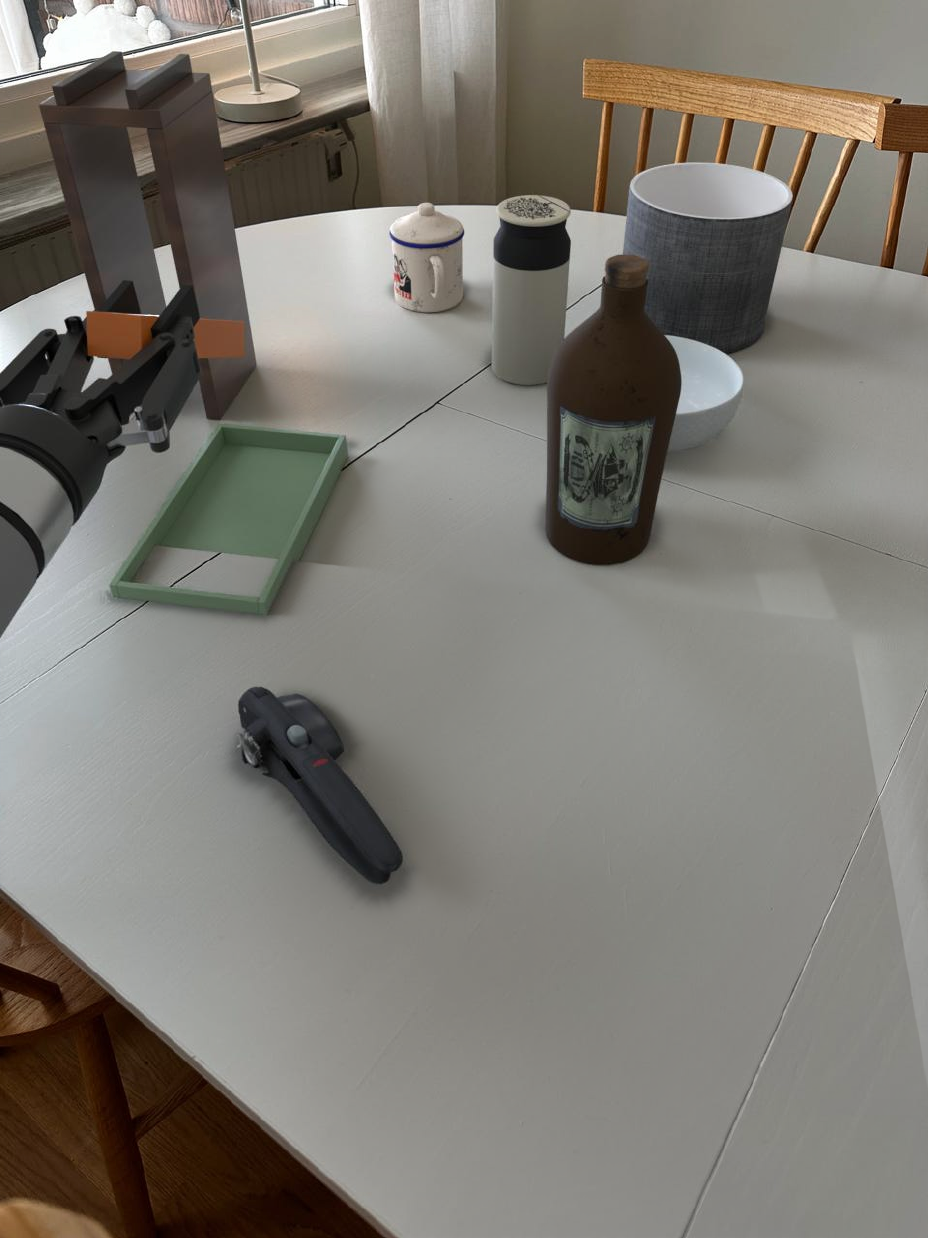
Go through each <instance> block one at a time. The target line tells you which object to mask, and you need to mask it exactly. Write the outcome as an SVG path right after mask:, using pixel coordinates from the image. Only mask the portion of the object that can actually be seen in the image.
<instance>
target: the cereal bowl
mask: <svg viewBox="0 0 928 1238" xmlns="http://www.w3.org/2000/svg"><path fill="white" fill-rule="evenodd" d="M665 336H666V338H667V339H668V340H669V341H670V343H671V344H672V346H673V348H674V349H675V351H676V354H677V356H678V360H679V364H680V370H681V379H682V385H681V394H680V399H679V403H678V407H677V412H676V416H675V420H674V425H673V429H672V433H671V438H670V442H669V447H668V451H667V453H671V452H677V451H685V450H689V449H692V448H694V447H698V446H700V445H702V444H704V443H707V442H709V441H710V440H711V439H713V438H715V437H716V436H718V435H719V434H720V433H721V432H723V431H724V430H725V428H727V427H728V426H729V424H730V423H731V422H732V420H733V418H734V417H735V415H736V412H737V411H738V408H739V405H740V403H741V398H742V396H743V391H744V387H745V376H744V373H743V371H742V369H741V367H740V365H738V363H737V362H736V361H735V360H734V359H733V358H731V356H730V355H728V354H727V353H723V352H721V351H720V350H718V349H716V348H714V347H711V346H709V345H706V344H704V343H701V342H698V341H695V340H691V339H686V338H682V337H676V336H669V335H665Z"/></svg>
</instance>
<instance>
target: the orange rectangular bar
mask: <svg viewBox="0 0 928 1238" xmlns="http://www.w3.org/2000/svg"><path fill="white" fill-rule="evenodd" d="M85 314H86V316H85V318H87V346H88V356H93V357H94V358H95V357H96V358H97V357H107V358H106V359H108V358H120V359H131V358H132V357H133V356H134V355H135V354H137V353H138V352H139V351H140V350H141V349H142V348H143V347H145V346H146V345H147V344H148V343H149V342H150V341H151V340H153V337H152V333H151V330H150V328H151V327H152V326H153V324H154V323H155V322H156V320H157V319H158V318H159V316H157V315H141V314H126V313H110V312H94V310H86V312H85ZM194 333H195V338H194V340H193V341H194V342H195V345H196V350H197V354H198V358H222V357H244V322H243V321H230V320H217V319H204V318H200V319H199V321H198V322H197V323H196V325H195V326H194Z"/></svg>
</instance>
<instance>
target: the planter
mask: <svg viewBox="0 0 928 1238" xmlns="http://www.w3.org/2000/svg"><path fill="white" fill-rule="evenodd" d="M793 194H794V193H793V191H792V189H791V188H790V186H789V185H788V184H786V183H785V182H784V181H782V180H780V179H779V178H777V177H776V176H773V175H772V174H771V175H770V174H768V173H766V172H763V171H760V170H757V169H753V168H749V167H744V166H739V165H733V164H727V163H726V164H725V163H719V162H717V163H716V162H677V163H670V164H664V165H658V166H655V167H652V168H651V167H650V168H648V169H646V170H643V171H641V172H639V173H638V174H636V175H635V176H634V177H633V178H632V179H631V181H630V182H629V189H628V198H627V199H628V200H627V208H626V216H625V217H626V218H625V227H624V228H625V229H624V237H623V247H622V254H628V255H635V256H639V257H641V258H643V259H645V260H646V261H647V262H648V263H649V268H648V274H647V275H646V279H647V280H648V288H647V295H646V301H645V307H644V310H645V312H646V314H647V315H648V317H649V318H650V319H651V320H652V321H653V323H654V324H655V325H656V326H657V327H658V328H659V329H660V331H661V332H662V333H663V334H664V335H669V336H676V337H682V338H686V339H691V340H695V341H698V342H701V343H704V344H706V345H709V346H711V347H714V348H716V349H718V350H720V351H721V352H723V353H725V354H729V353H734V352H738V351H740V350H743V349H745V348H748V347H750V346H751V345H753V344H754V343H756V342H757V341H758V340H759V339H760V338H761V337H762V335H763V333H764V330H765V324H766V318H767V312H768V309H769V304H770V299H771V296H772V292H773V287H774V282H775V278H776V273H777V269H778V265H779V261H780V257H781V251H782V248H783V243H784V239H785V234H786V230H787V226H788V223H789V216H790V213H791V208H792V204H793V199H794V195H793Z"/></svg>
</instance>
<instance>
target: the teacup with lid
mask: <svg viewBox="0 0 928 1238" xmlns="http://www.w3.org/2000/svg"><path fill="white" fill-rule="evenodd" d="M464 236H465V229H464V225H463V223H462V222H461V221H460V220H459V219H458V218H456V217H454V216H452V215H449V214H445V213H442V212H440V211H438V210H436V208H435V205H434V204H433V203H431V202H423V203H420V204H418V206H417V210H416V211H414V212H412V213H410V214H407V215H403V216H402V217H399V218H397V219H396V220H395V221H393V223H392V224H391V226H390V228H389V237H390V239H391V249H392V267H393V271H392V272H393V288H394V299H395V301H396V303H397V304H398V305H399V306H401V307H402V308H404V309H406V310H409V311H413V312H417V313H439V312H445V311H447V310H450V309H453V308H455V307H456V306H457V305H458V304H460V303H461V302H462V299H463V296H464V288H463V286H464V281H463V280H464V279H463V277H464V276H463V275H464V272H463V270H464V269H463V263H464V261H463V260H464V259H463V255H464V254H463V253H464V252H463V237H464ZM452 307H453V308H452Z"/></svg>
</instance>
